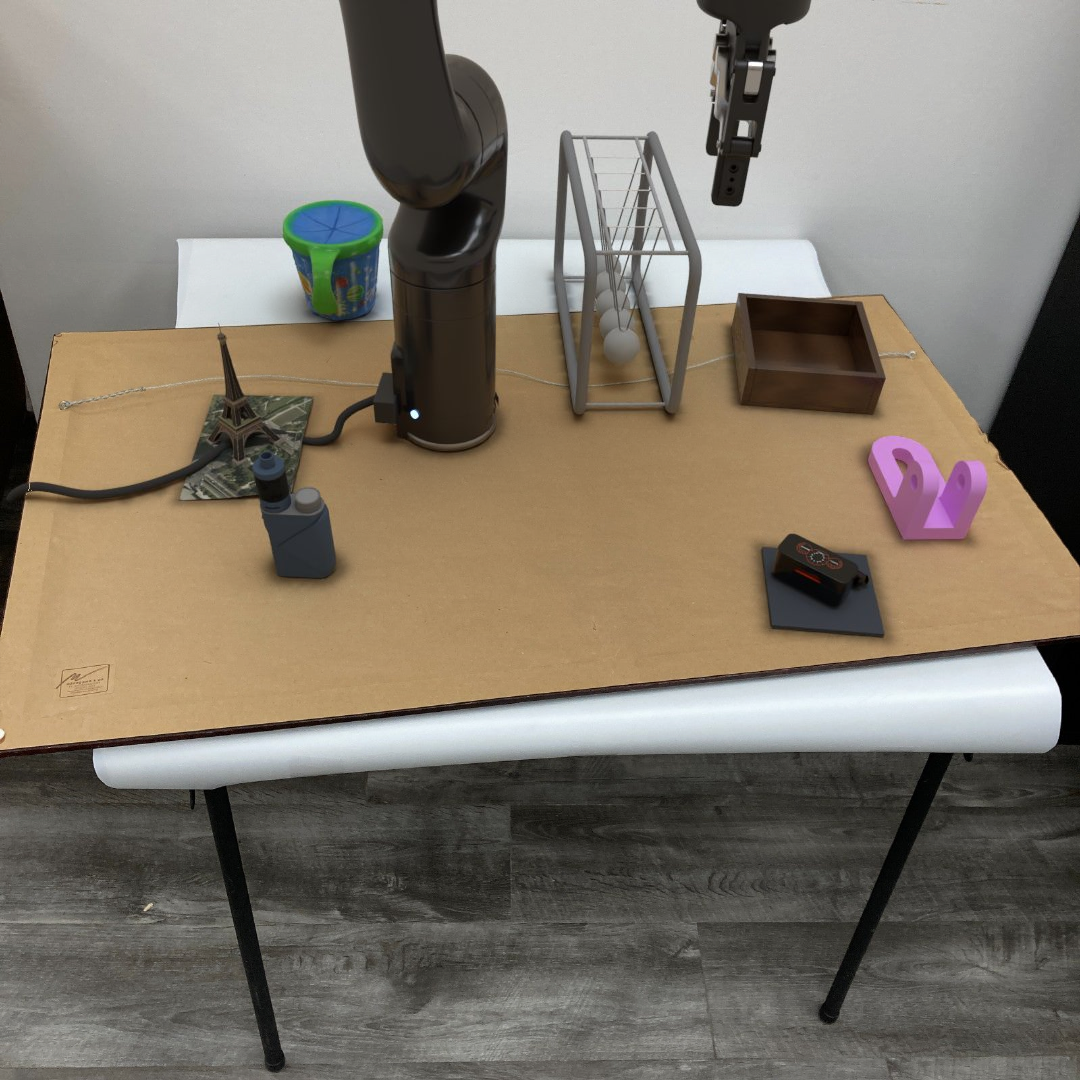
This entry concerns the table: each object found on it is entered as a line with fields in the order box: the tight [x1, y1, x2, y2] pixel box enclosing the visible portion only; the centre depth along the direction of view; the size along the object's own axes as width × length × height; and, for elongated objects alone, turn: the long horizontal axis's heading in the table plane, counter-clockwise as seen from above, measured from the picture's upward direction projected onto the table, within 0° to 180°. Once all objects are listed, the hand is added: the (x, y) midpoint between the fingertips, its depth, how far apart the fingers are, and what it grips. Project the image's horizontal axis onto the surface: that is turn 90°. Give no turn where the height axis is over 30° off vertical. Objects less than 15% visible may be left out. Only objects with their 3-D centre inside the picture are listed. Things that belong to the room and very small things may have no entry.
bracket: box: [867, 435, 988, 541], centre depth 89 cm, size 13×6×7 cm, turn 3°
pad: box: [761, 546, 886, 638], centre depth 82 cm, size 9×9×1 cm
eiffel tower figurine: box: [178, 322, 314, 501], centre depth 88 cm, size 15×10×13 cm
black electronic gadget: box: [772, 533, 871, 607], centre depth 81 cm, size 5×7×3 cm, turn 52°
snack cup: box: [282, 199, 384, 322], centre depth 107 cm, size 16×10×10 cm
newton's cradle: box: [553, 129, 703, 415], centre depth 102 cm, size 30×10×18 cm, turn 3°
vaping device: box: [252, 451, 337, 579], centre depth 77 cm, size 3×5×12 cm, turn 88°
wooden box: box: [730, 292, 887, 415], centre depth 104 cm, size 14×15×4 cm
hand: (722, 178), depth 73 cm, fingers open, 8 cm apart
